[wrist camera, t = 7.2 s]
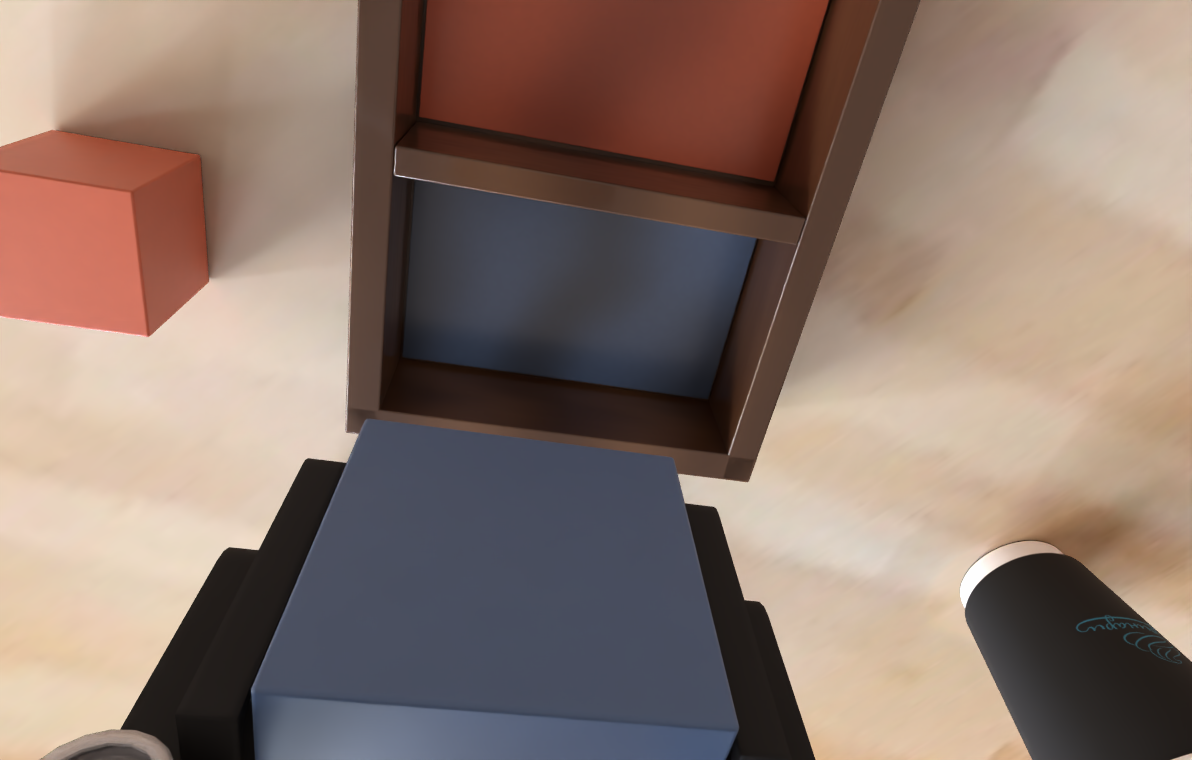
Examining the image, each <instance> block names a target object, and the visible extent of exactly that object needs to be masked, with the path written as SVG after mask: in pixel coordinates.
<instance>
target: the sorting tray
mask: <svg viewBox="0 0 1192 760" xmlns="http://www.w3.org/2000/svg"><path fill="white" fill-rule="evenodd" d="M919 3H920V0H358V21H357V55H356V89H355V123H354V157H353V191H352V225H351V259H350V293H349V327H348V361H347V395H346V426H345V431H346V432H347V433H353V434H359V433H360V431H361V428H362V426H363V424H364V421H365V420H366V419H376V420H384V421H392V422H399V423H407V424H415V425H423V426H431V427H438V428H446V429H454V430H462V431H470V432H478V433H485V434H493V435H501V436H509V437H517V438H525V439H532V440H540V441H548V442H556V443H564V444H572V445H579V446H587V447H595V448H603V449H611V450H619V451H626V452H634V453H642V454H650V455H658V456H666V457H672V458H673V459H674V461H675V466H676V470H677V474H685V475H693V476H702V477H710V478H718V479H726V480H734V481H742V482H748V481H749V479H750V476H751V473H752V471H753V468H754V465H755V462H756V459H757V456H758V453H759V450H760V448H761V445H762V442H763V439H764V436H765V434H766V431H767V428H768V425H769V422H770V420H771V417H772V414H773V411H774V409H775V406H776V403H777V400H778V397H779V395H780V392H781V389H782V386H783V383H784V381H785V378H786V375H787V372H788V369H789V367H790V364H791V361H792V358H793V355H794V353H795V350H796V347H797V344H798V341H799V339H800V336H801V333H802V330H803V327H804V325H805V322H806V319H807V316H808V313H809V311H810V308H811V305H812V302H813V299H814V297H815V294H816V291H817V288H818V285H819V283H820V280H821V277H822V274H823V271H824V269H825V266H826V263H827V260H828V257H829V255H830V252H831V249H832V246H833V243H834V241H835V238H836V235H837V232H838V230H839V227H840V224H841V221H842V218H843V216H844V213H845V210H846V207H847V204H848V202H849V199H850V196H851V193H852V190H853V188H854V185H855V182H856V179H857V176H858V174H859V171H860V168H861V165H862V162H863V160H864V157H865V154H866V151H867V148H868V146H869V143H870V140H871V137H872V134H873V132H874V129H875V126H876V123H877V120H878V118H879V115H880V112H881V109H882V106H883V104H884V101H885V98H886V95H887V92H888V90H889V87H890V84H891V81H892V78H893V76H894V73H895V70H896V67H897V64H898V62H899V59H900V56H901V53H902V51H903V48H904V45H905V42H906V39H907V37H908V34H909V31H910V28H911V25H912V23H913V20H914V17H915V14H916V11H917V9H918V6H919Z"/></svg>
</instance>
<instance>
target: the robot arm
mask: <svg viewBox="0 0 1192 760" xmlns="http://www.w3.org/2000/svg"><path fill="white" fill-rule="evenodd" d="M346 464H347V463H342V462H334V461H326V460H317V459H309V458H308V459H306V460H305V461H304V463H303V465H302V467H301V469H300V470H299V472H298V474H297V476H296V478H295V480H294V482H293V484H292V486H291V488H290V490H289V492H288V494H287V496H286V498H285V500H284V502H283V504H282V506H281V508H280V510H279V512H278V513H277V515H276V517H275V519H274V521H273V523H272V525H271V527H270V529H269V531H268V533H267V535H266V537H265V539H264V541H263V543H262V545H261V547H260V549H259V550H251V549H241V548H231V547H229V548H228V549H226V550H225V551H223V553H222V554H221V556H220V557H219V559H218V560H217V562H216V563H215V565H214V567H213V569H212V570H211V572H210V574H209V576H208V577H207V579H206V581H205V583H204V584H203V586H202V588H201V590H200V591H199V593H198V595H197V597H196V598H195V600H194V602H193V604H192V605H191V607H190V609H189V611H188V612H187V614H186V616H185V617H184V619H183V621H182V623H181V624H180V626H179V628H178V630H177V631H176V633H175V635H174V637H173V638H172V640H171V642H170V644H169V645H168V647H167V649H166V651H165V652H164V654H163V656H162V658H161V659H160V661H159V663H158V665H157V666H156V668H155V670H154V672H153V673H152V675H151V677H150V679H149V680H148V682H147V684H146V686H145V687H144V689H143V691H142V693H141V694H140V696H139V698H138V699H137V701H136V703H135V705H134V706H133V708H132V710H131V712H130V713H129V715H128V717H127V719H126V720H125V722H124V724H123V726H122V727H121V729H120V730H107V731H102V732H98V733H93V734H88V735H84V736H82V737H80V738H78V739H75V740H73V741H71V742H68V743H66V744H64V745H61V746H59V747H57V748H56V749H54V750H53V751H51V752H50V753H48V754H47V755H46V756H44V757H43V758H41V759H40V760H255V749H254V731H253V714H252V696H251V688H252V686H253V683H254V681H255V679H256V676H257V674H258V672H259V669H260V667H261V665H262V662H263V660H264V657H265V655H266V653H267V650H268V648H269V646H270V643H271V641H272V639H273V636H274V634H275V631H276V629H277V627H278V624H279V622H280V620H281V617H282V615H283V613H284V610H285V608H286V606H287V603H288V601H289V598H290V596H291V594H292V591H293V589H294V587H295V584H296V582H297V580H298V577H299V575H300V572H301V570H302V568H303V565H304V563H305V561H306V558H307V556H308V554H309V551H310V549H311V546H312V544H313V542H314V539H315V537H316V535H317V532H318V530H319V528H320V525H321V523H322V520H323V518H324V516H325V513H326V511H327V509H328V506H329V504H330V502H331V499H332V497H333V494H334V492H335V490H336V487H337V485H338V483H339V480H340V478H341V476H342V473H343V471H344V468H345V466H346ZM685 507H686V511H687V515H688V519H689V523H690V527H691V531H692V535H693V540H694V544H695V548H696V552H697V556H698V560H699V564H700V568H701V572H702V577H703V581H704V585H705V589H706V593H707V597H708V601H709V605H710V609H711V613H712V618H713V622H714V626H715V630H716V634H717V638H718V642H719V646H720V650H721V655H722V659H723V663H724V667H725V671H726V675H727V679H728V683H729V687H730V692H731V696H732V700H733V704H734V708H735V712H736V716H737V720H738V724H739V730H738V733H737V735H736V738H735V740H734V742H733V745H732V747H731V749H730V752H729V754H728V756H727V758H726V760H815V757H814V754H813V751H812V748H811V745H810V742H809V739H808V736H807V733H806V730H805V726H804V723H803V720H802V717H801V714H800V711H799V708H798V705H797V702H796V699H795V696H794V693H793V690H792V687H791V684H790V681H789V678H788V675H787V672H786V669H785V666H784V663H783V660H782V657H781V653H780V650H779V647H778V644H777V641H776V638H775V635H774V632H773V629H772V626H771V623H770V620H769V617H768V614H767V612H766V610H765V608H764V606H763V605H762V604H761V603H760V602H756V601H746V600H744V597H743V594H742V591H741V587H740V584H739V581H738V577H737V574H736V571H735V567H734V564H733V561H732V557H731V554H730V551H729V547H728V544H727V541H726V537H725V534H724V530H723V527H722V524H721V520H720V517H719V514H718V511H717V509H716V508H714V507H710V506H702V505H693V504H685Z"/></svg>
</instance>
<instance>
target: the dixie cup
mask: <svg viewBox="0 0 1192 760" xmlns="http://www.w3.org/2000/svg"><path fill="white" fill-rule="evenodd" d="M960 596H961V600H962V602H963V605H964V607H965V618H966V622H967V624H968V626H969V628H970V630H971V633H972V635H973V637H974V639H975V641H976V643H977V645H978V647H979V649H980V651H981V653H982V656H983V658H984V660H985V662H986V664H987V666H988V668H989V670H990V672H991V674H992V676H993V679H994V681H995V683H996V685H997V687H998V689H999V691H1000V693H1001V695H1002V697H1003V699H1004V702H1005V704H1006V706H1007V708H1008V710H1009V712H1010V714H1011V716H1012V718H1013V720H1014V722H1015V725H1016V727H1017V729H1018V731H1019V733H1020V735H1021V737H1022V739H1023V741H1024V743H1025V745H1026V748H1027V750H1028V752H1029V754H1030V756H1031V758H1032V760H1192V662H1191V661H1190V660H1189V659H1188V658H1187V657H1186V656H1184V655H1183V654H1182V653H1181V652H1180V651H1179V650H1178V649H1177V648H1176V647H1174V646H1173V645H1172V644H1171V643H1170V642H1169V641H1168V640H1167V639H1165V638H1164V637H1163V636H1162V635H1161V634H1160V633H1159V632H1158V631H1157V630H1155V629H1154V628H1153V627H1152V626H1151V625H1150V624H1149V623H1148V622H1146V621H1145V620H1144V619H1143V618H1142V617H1141V616H1140V615H1139V614H1137V613H1136V612H1135V611H1134V610H1133V609H1132V608H1131V607H1130V606H1129V605H1127V604H1126V603H1125V602H1124V601H1123V600H1122V599H1121V598H1120V597H1118V596H1117V595H1116V594H1115V593H1114V592H1113V591H1112V590H1111V589H1110V588H1108V587H1107V586H1106V585H1105V584H1104V583H1103V582H1102V581H1101V580H1099V579H1098V578H1097V577H1096V576H1095V575H1094V574H1093V573H1092V572H1091V571H1089V570H1088V569H1087V568H1086V567H1085V566H1084V565H1083V564H1082V563H1080V562H1079V561H1077V560H1076V559H1074V558H1072V557H1070V556H1067V555H1064V554H1063V553H1062V552H1061V551H1060V550H1058V549H1057V548H1056V547H1054V546H1052V545H1050V544H1047V543H1044V542H1039V541H1022V542H1016V543H1012V544H1008V545H1005V546H1002V547H1000V548H998V549H996V550H993V551H992V552H990V553H988V554H987V555H985V556H984V557H982V558H981V559H980V560H978V561H977V562H976V563H975V564H974V565H973V566H972V567H971V568H970V570H969V571H968V572H967V574H966V575H965V577H964V579H963V581H962V584H961V589H960Z"/></svg>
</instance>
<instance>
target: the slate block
mask: <svg viewBox="0 0 1192 760" xmlns="http://www.w3.org/2000/svg"><path fill="white" fill-rule="evenodd" d="M251 696H252V714H253V731H254V749H255V760H726V758H727V756H728V754H729V752H730V749H731V747H732V745H733V742H734V740H735V738H736V735H737V733H738V730H739V724H738V720H737V716H736V712H735V708H734V704H733V700H732V696H731V692H730V687H729V683H728V679H727V675H726V671H725V667H724V663H723V659H722V655H721V650H720V646H719V642H718V638H717V634H716V630H715V626H714V622H713V618H712V613H711V609H710V605H709V601H708V597H707V593H706V589H705V585H704V581H703V577H702V572H701V568H700V564H699V560H698V556H697V552H696V548H695V544H694V540H693V535H692V531H691V527H690V523H689V519H688V515H687V511H686V507H685V503H684V498H683V494H682V490H681V486H680V482H679V478H678V474H677V470H676V466H675V461H674V459H673V458H672V457H666V456H658V455H650V454H642V453H634V452H626V451H619V450H611V449H603V448H595V447H587V446H579V445H572V444H564V443H556V442H548V441H540V440H532V439H525V438H517V437H509V436H501V435H493V434H485V433H478V432H470V431H462V430H454V429H446V428H438V427H431V426H423V425H415V424H407V423H399V422H392V421H384V420H376V419H366V420H365V421H364V424H363V426H362V428H361V431H360V433H359V435H358V438H357V440H356V442H355V445H354V447H353V450H352V452H351V454H350V457H349V459H348V461H347V464H346V466H345V468H344V471H343V473H342V476H341V478H340V480H339V483H338V485H337V487H336V490H335V492H334V494H333V497H332V499H331V502H330V504H329V506H328V509H327V511H326V513H325V516H324V518H323V520H322V523H321V525H320V528H319V530H318V532H317V535H316V537H315V539H314V542H313V544H312V546H311V549H310V551H309V554H308V556H307V558H306V561H305V563H304V565H303V568H302V570H301V572H300V575H299V577H298V580H297V582H296V584H295V587H294V589H293V591H292V594H291V596H290V598H289V601H288V603H287V606H286V608H285V610H284V613H283V615H282V617H281V620H280V622H279V624H278V627H277V629H276V631H275V634H274V636H273V639H272V641H271V643H270V646H269V648H268V650H267V653H266V655H265V657H264V660H263V662H262V665H261V667H260V669H259V672H258V674H257V676H256V679H255V681H254V683H253V686H252V688H251Z"/></svg>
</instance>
